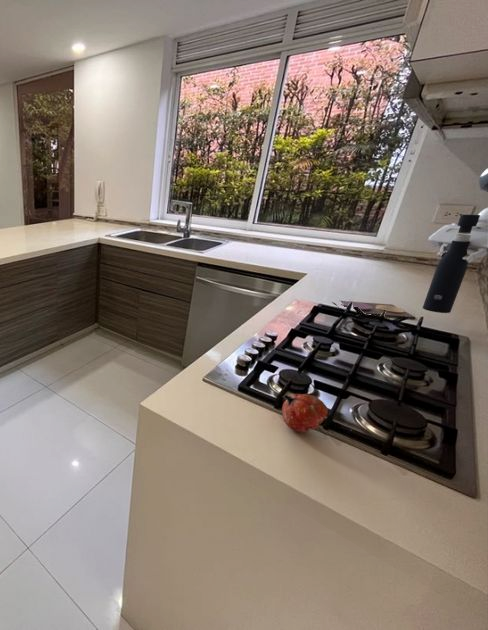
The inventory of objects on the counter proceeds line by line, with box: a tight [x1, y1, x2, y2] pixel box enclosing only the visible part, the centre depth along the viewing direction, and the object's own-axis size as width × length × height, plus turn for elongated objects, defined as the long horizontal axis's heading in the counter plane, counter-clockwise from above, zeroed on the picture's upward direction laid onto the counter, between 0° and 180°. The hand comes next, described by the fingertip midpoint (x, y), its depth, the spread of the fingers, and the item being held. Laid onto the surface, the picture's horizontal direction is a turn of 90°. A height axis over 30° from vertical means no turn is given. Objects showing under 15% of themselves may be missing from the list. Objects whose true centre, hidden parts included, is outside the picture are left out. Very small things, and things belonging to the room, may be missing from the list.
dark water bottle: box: [422, 214, 480, 314], centre depth 106 cm, size 6×6×30 cm
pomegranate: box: [281, 393, 329, 436], centre depth 64 cm, size 7×7×10 cm
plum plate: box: [341, 300, 372, 311], centre depth 128 cm, size 9×9×1 cm
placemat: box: [340, 300, 416, 320], centre depth 127 cm, size 20×14×1 cm
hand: (452, 258), depth 105 cm, fingers closed on dark water bottle, 5 cm apart
